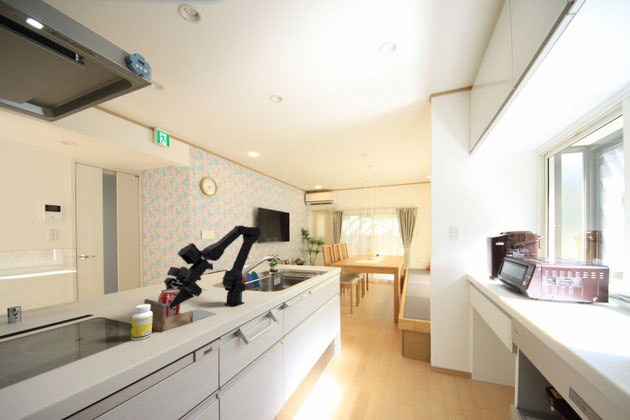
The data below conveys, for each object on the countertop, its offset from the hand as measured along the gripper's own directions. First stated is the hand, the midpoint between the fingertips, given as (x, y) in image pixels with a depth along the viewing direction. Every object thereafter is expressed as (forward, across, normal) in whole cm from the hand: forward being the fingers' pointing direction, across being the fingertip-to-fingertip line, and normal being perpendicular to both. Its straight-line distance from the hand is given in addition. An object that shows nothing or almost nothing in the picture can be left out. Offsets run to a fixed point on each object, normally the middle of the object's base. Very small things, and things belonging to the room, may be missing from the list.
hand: (165, 305), depth 89 cm
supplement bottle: (+12, +5, -2) cm, 13 cm away
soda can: (+4, 0, +6) cm, 7 cm away
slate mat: (-4, 0, +13) cm, 14 cm away
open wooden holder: (+4, 0, +6) cm, 7 cm away
